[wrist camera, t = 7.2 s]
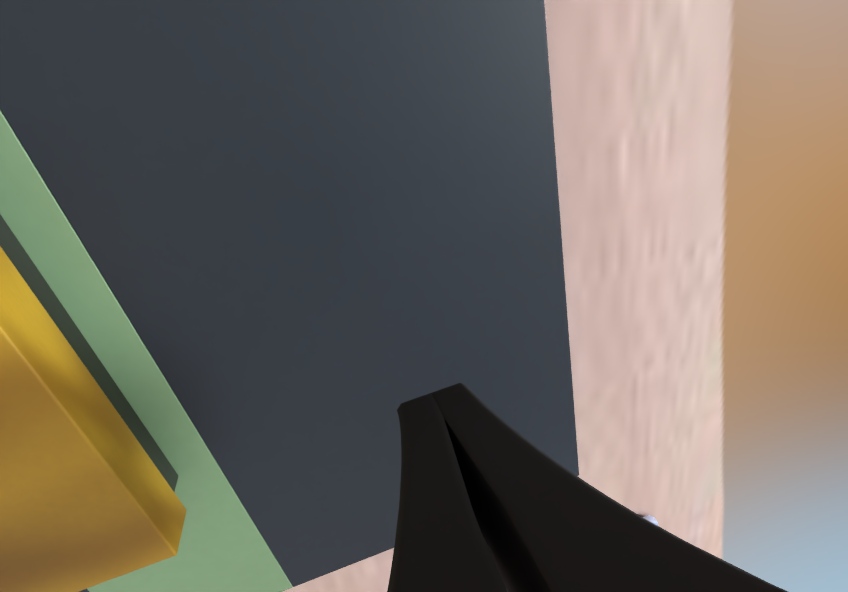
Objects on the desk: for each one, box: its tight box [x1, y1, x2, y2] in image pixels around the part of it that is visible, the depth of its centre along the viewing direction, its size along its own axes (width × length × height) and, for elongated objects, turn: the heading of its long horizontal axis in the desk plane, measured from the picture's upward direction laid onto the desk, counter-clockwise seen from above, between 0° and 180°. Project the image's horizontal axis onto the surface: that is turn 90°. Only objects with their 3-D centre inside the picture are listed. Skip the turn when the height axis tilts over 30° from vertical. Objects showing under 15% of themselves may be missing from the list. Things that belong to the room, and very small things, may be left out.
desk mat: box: [0, 0, 579, 592], centre depth 13 cm, size 26×22×1 cm
